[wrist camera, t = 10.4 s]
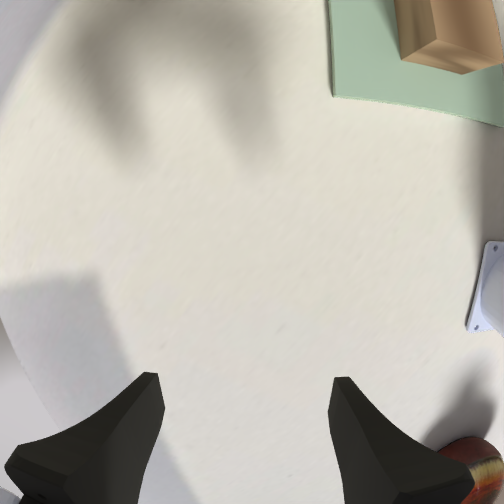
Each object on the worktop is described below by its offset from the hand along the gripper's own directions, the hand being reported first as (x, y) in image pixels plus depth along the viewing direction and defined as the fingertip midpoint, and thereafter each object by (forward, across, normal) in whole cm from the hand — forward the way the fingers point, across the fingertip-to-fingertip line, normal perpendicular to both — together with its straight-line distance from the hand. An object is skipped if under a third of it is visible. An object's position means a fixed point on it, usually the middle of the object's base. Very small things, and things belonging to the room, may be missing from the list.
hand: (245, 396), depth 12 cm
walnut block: (+10, -12, -18) cm, 24 cm away
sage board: (+10, -12, -18) cm, 24 cm away
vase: (+11, -25, +24) cm, 36 cm away
